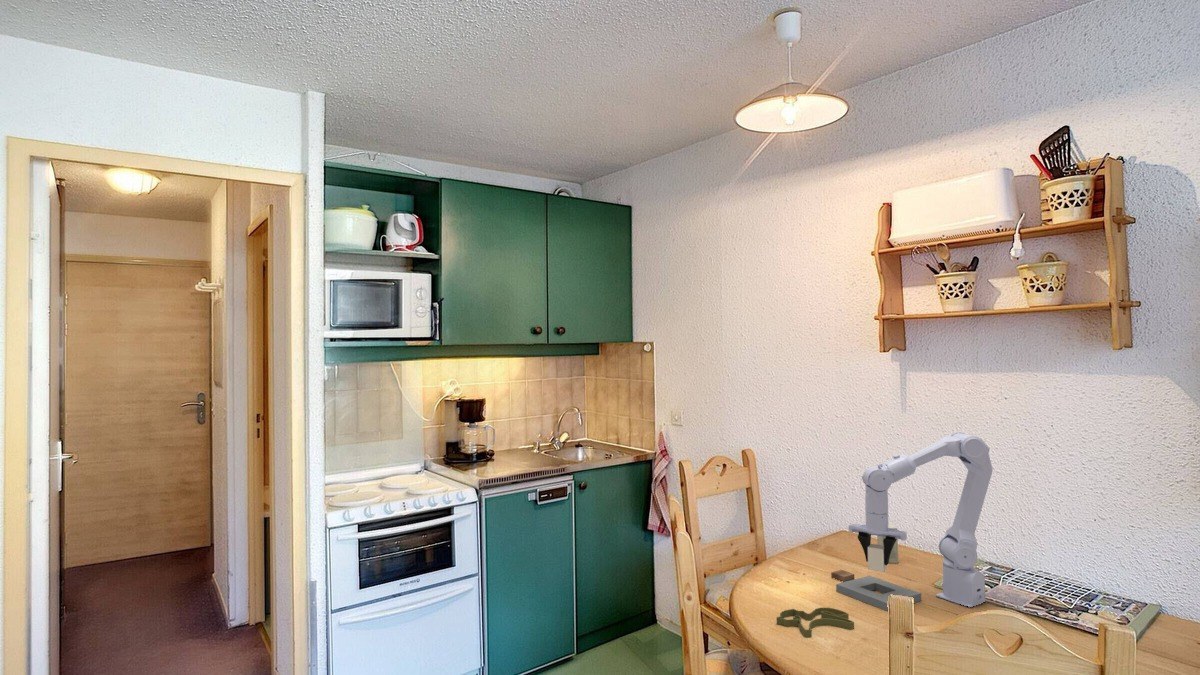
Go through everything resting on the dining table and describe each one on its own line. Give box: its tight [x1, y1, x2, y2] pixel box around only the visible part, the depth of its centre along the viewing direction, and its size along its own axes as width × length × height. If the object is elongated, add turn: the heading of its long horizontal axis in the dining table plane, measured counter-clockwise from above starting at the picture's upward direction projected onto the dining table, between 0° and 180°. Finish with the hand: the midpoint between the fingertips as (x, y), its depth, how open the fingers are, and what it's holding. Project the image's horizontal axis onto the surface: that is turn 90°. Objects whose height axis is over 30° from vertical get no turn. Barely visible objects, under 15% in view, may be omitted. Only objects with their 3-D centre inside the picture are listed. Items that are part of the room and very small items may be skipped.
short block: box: [830, 569, 855, 583], centre depth 187 cm, size 4×4×2 cm
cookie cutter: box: [776, 607, 855, 638], centre depth 156 cm, size 18×12×2 cm, turn 110°
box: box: [876, 524, 899, 564], centre depth 204 cm, size 5×4×11 cm
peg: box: [867, 543, 888, 573], centre depth 174 cm, size 4×4×6 cm
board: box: [835, 575, 922, 612], centre depth 174 cm, size 16×14×2 cm
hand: (877, 562), depth 174 cm, fingers closed on peg, 4 cm apart
